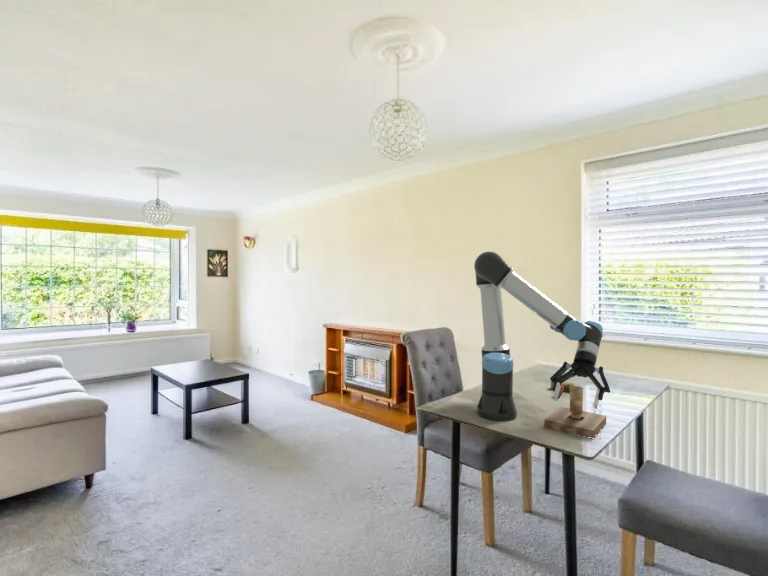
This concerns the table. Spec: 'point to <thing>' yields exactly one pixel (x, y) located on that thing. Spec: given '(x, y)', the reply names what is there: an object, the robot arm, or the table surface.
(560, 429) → the board
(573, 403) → the peg
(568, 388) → the gavel
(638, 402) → the table surface
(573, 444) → the table surface
